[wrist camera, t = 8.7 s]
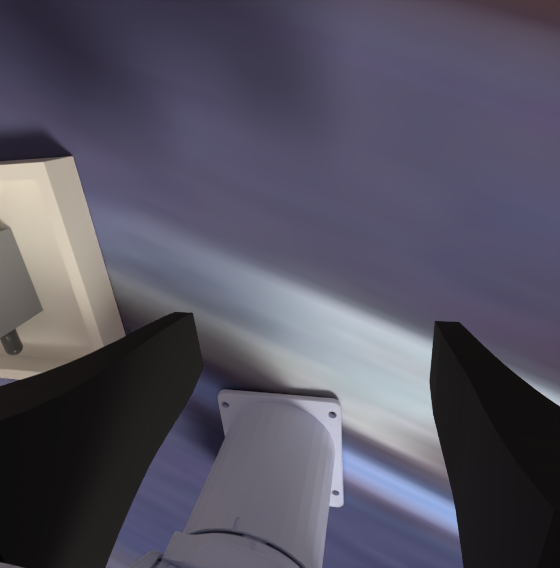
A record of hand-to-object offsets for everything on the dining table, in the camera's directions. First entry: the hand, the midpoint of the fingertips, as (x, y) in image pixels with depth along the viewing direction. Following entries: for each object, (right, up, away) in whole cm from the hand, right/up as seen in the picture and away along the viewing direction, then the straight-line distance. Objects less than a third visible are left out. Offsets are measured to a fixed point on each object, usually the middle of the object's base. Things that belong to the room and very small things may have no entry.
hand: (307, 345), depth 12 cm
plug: (-18, +3, +13) cm, 23 cm away
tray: (-18, +3, +14) cm, 23 cm away
